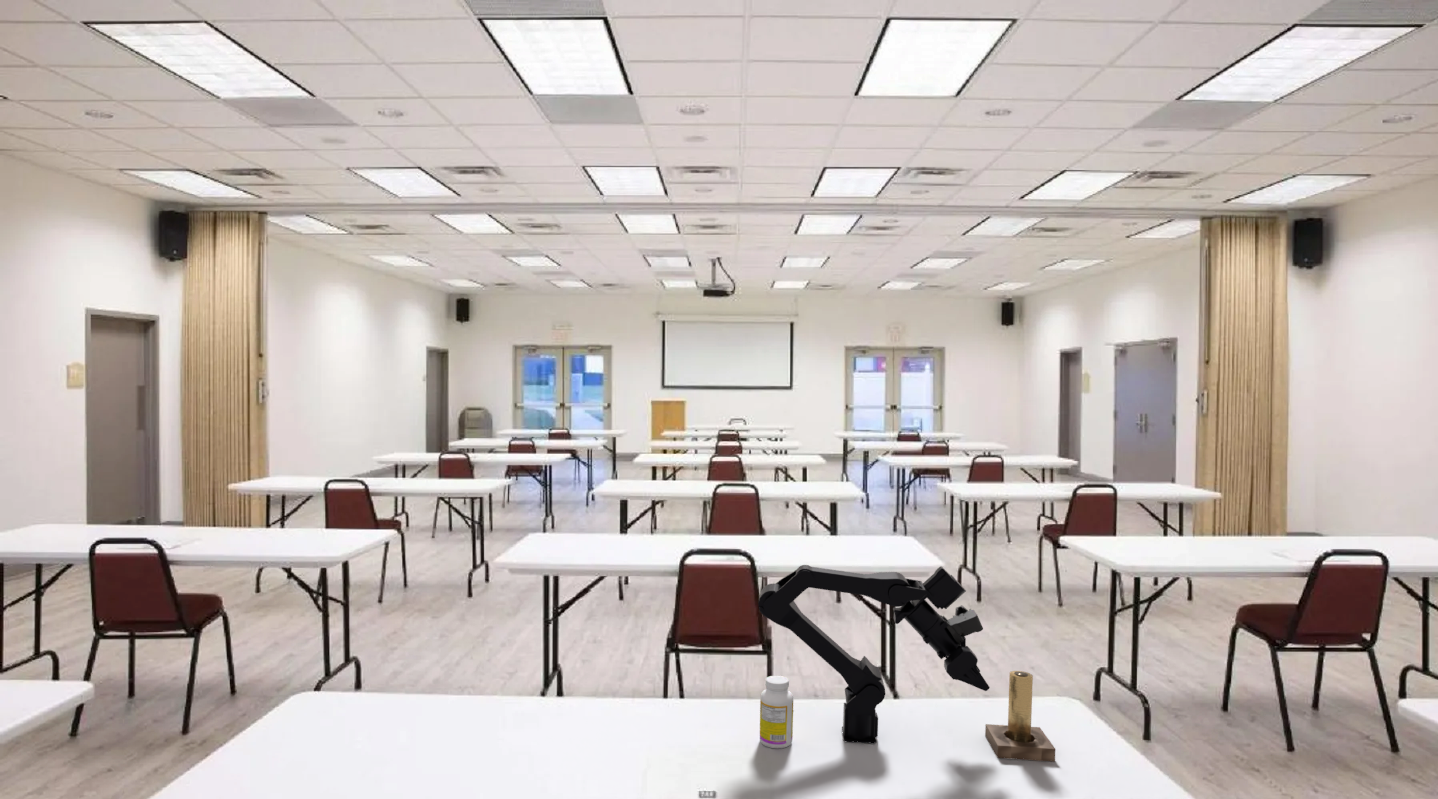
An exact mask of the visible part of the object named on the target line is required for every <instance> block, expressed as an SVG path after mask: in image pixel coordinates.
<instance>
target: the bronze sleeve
mask: <svg viewBox="0 0 1438 799" xmlns="http://www.w3.org/2000/svg"><path fill="white" fill-rule="evenodd" d="M1008 677H1009V683H1008V709H1007V711H1008V714H1007V715H1008V716H1007V725H1008V738H1009V739H1010V740H1013V741H1017V742H1024V743H1029V742H1031V727H1032V714H1033V713H1032V711H1033V708H1032V707H1033V706H1032V705H1033V680H1034V678H1033V677H1034V675H1033V674H1031V673H1029V672H1026V671H1023V670H1012V671H1010V672H1009V676H1008Z"/></svg>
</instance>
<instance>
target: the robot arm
mask: <svg viewBox="0 0 1438 799" xmlns="http://www.w3.org/2000/svg"><path fill="white" fill-rule="evenodd" d="M809 588H810V589H815V590H816V589H818V590H823V591H829V592H830V591H831V592H838V593H839V592H840V593H845V594H851V595H852V594H853V595H859V596H864V597H868V598H870V599H872V600H875V601H876V602H879V603H882V604H886V605H888V606H891V607H893V608H892V610H893V620H894V623H895V624H896V625H898V624H900V622H902V621H903V620H905V621H906V622H907V623H908V624H909V625H910V626H911V627H912V628H913V629H914V630H915V631H916V632H917V634H919V636H920V637H921V638H922V640H923V642H924V643H925V644H926V645H929V646H930V647H931V648H932V650H934V651H935V652H936V655H937V656H938V657H939V659H940V660H943V659H944V658H945V659H944V661H943V667H944V670H945V672H946V674H947V675H949V677H950V678H951V679H952V680H956V681H960V682H963V683H965V684H968V685H970V686H972V687H975V688H977V689H980V690H982V691H984V692H987V691H989V689H990V686H989V684H988V682H987V681H986V679H985V678H984V677H983V675H982V674H981V670H980V668H979V666H978V662H979V660H978V657H977V656H976V654H975V653H974V651H973V650H972V649H971V648H970V647H969V646H968V645H967V644H966V643H967V642H966V641H967V640H966V637H967V636H970V635H972V634H975V633H979V632H982V631H983V630H984V627H983V625H982V623H981V619H980V618H979V616H978V614H977V612H976V611H975V610H974V609H972V608H970V609H969V610H968V609H967V608H966V607H965V606H964V605H960V606H957V607H955V613H954V615H952V617H951V618H949V619H948V618H947V617H945V616H944V615H942V614H941V615H940V614H939V613H938V612H937V611H936V610H935V608H936V609H938V610H939V609H941V610H943V609H944V610H947V609H948V608H949V607H951V606H952V605H953V603H955V602H956V601H957V600H958V599H959V598H960V597H962V595H963V594H965V592H967V590H966V589H965V588H964V586H963V585H962V584H961V583H960V582H959V581H958V580H957V579H956V578H955V576H953V575H952V574H950V573H949V572H948V571H947V570H945V568H944V566H939V567H938V568H937V569H935V571H934V573H932V574H931V575H930V576H929V577H928V578H927V579H926V580H925V581H924V582H922V580H917V579H913V578H908V577H907V578H906V577H905V576H904V575H903V574H902V573H899V572H897V571H884V572H882V571H881V572H874V573H865V574H864V573H858V572H850V571H844V570H836V569H831V568H830V569H829V568H823V567H814V566H810V565H809V564H802V565H800V566H798V567H797V569H795V570H794V571H792V572H791V573H789V574H787V575H786V576H784V577H782V578H781V579H779V580H778V581H777V582H776V583H769V584H766V585H764V587H763V588H762V589H761V591H760V595H759V597H758V602H757V604H758V610H759V612H760V613H761V615H762V616H763V617H765V618H766V619H768V620H770V621H771V622H773V623H775V624H776V625H779V627H783V628H786V629H788V630H789V631H791V632H792V633H793V634H794V635H795V636H796V637H798V638H799V639H800V640H801V641H802V642H803V643H804V644H806V645H807V646H808V647H809V648H810V649H811V650H812V651H814V652H815V653H816V654H817V655H818V656H819V657H821V659H822V660H824V661H825V662H826V664H828V665H829V666H830V667H832V669H834V670H835V671H836V672H837V673H838V674H840V676H841V677H842V678H843V679H844V681H845V683H846V685H847V686H846V687H844V695H845V696H844V697H845V702H843V713H842V715H843V717H842V719H843V720H842V726H841V733H842V732H843V733H842V738H843V739H844V740H843V739H842V740H843V742H845V741H847V742H846V743H861V744H876V743H877V739H876V738H878V734H879V733H878V732H879V716H878V713H877V712H876V708H877V706H879V704H881V703H882V702H883V700H884V699H885V696H886V687H885V684H884V679H883V676H882V674H881V671H880V667H879V666H877V665H874V664H873V663H871V661H870V660H869V659H868V657H866V656H865V655H863V656H862V658H861V660H860V659H857V658H855V657H854V656H852V655H850V654H849V653H848V652H847V651H846V650H845V649H844V648H842V647H841V646H840V645H839V644H838V643H836V641H835V640H833V639H832V638H831V637H830V636H829V635H828V634H827V633H826V632H824V631H823V630H822V629H821V628H820V627H818V626H817V624H816V623H814V622H813V621H812V620H811V619H809V617H807V616H806V615H805V614H804V613H803V611H801V609H800V608H799V607H798V605H797V603H796V602H795V600H796V599H797V598H798V597H800V595H801V594H802V593H804V592H805V591H806V590H807V589H809ZM926 599H927V600H929V601H930V603H931V604H933V606H934V607H935V608H934V607H933V606H932V605H931V604H930V603H929V602H928V601H927V600H926Z"/></svg>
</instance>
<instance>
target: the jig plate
mask: <svg viewBox="0 0 1438 799" xmlns="http://www.w3.org/2000/svg"><path fill="white" fill-rule="evenodd" d="M984 732H985V733H984V736H985V738H986V740H987V742H988V744H989V746H990V748H991V750H992V751H993V753H994V754H995V756H996V758H997V759H1007V760H1008V759H1009V760H1022V761H1023V760H1024V761H1039V762H1040V761H1041V762H1042V761H1044V762H1053V763H1054V762H1056V747H1054V745H1053V744H1052V742H1051V741H1050V739H1049V737H1048V736H1047V735H1046V734H1045V732H1044V731H1043V729H1042V728H1041V727H1040V726H1031V742H1029V743H1024V742H1017V741H1013V740H1010V739H1009V738H1008V724H1007V725H1004V724H993V723H992V724H988V723H985V730H984Z"/></svg>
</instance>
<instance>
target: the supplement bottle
mask: <svg viewBox="0 0 1438 799" xmlns="http://www.w3.org/2000/svg"><path fill="white" fill-rule="evenodd" d="M765 687H766V688H765V689H763V691H761V694H760V704H759V705H760V706H759V711H760V712H759V713H760V714H759V741H760V743H761V744H762V745H763V746H765V747H767V748H771V749H784V748H786V747H789V746H790V745H792V743H793V736H794V735H793V730H794V729H793V728H794V723H793V722H794V695H793V693H792V692H791V691H790V690H789V687H790V680H789V678H788V677H786V676H782V675H770V676H767V677H765Z"/></svg>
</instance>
